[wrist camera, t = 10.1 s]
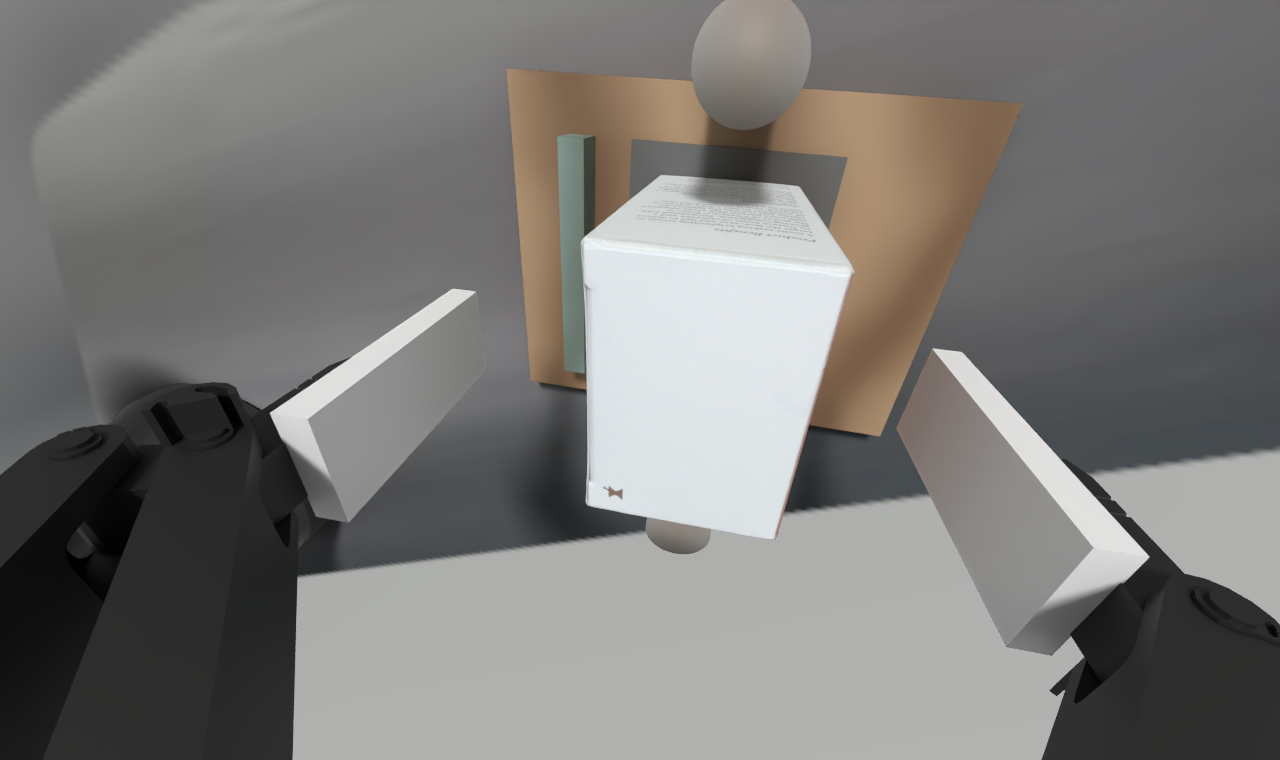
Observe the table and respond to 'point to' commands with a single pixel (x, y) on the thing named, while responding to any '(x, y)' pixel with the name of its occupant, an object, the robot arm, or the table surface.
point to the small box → (706, 349)
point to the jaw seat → (758, 152)
